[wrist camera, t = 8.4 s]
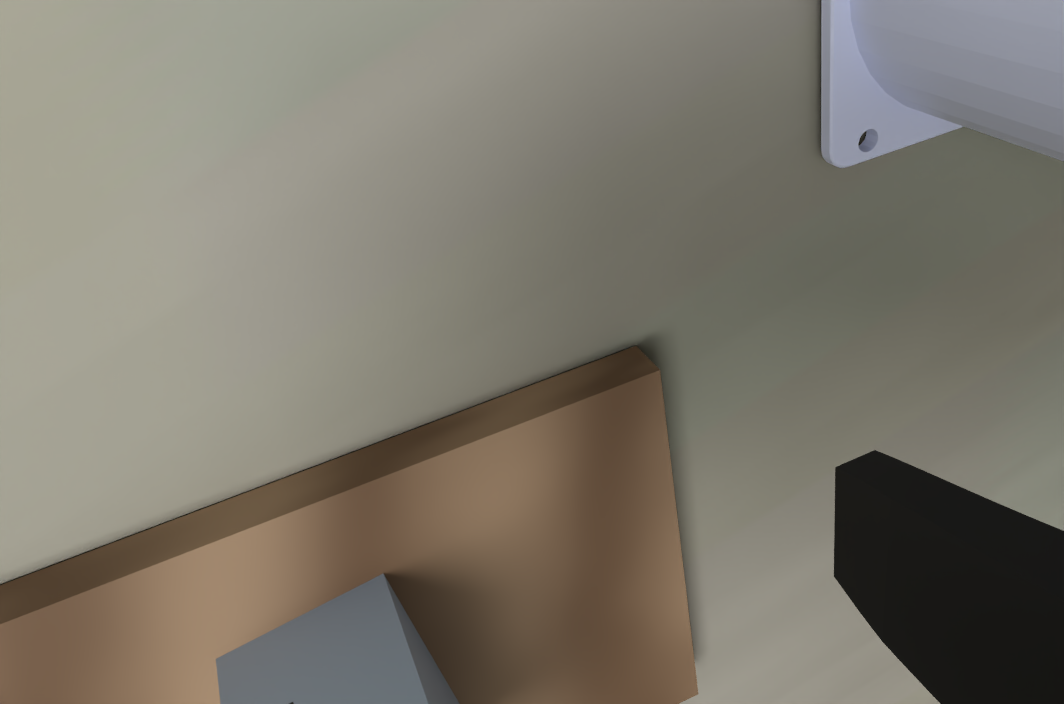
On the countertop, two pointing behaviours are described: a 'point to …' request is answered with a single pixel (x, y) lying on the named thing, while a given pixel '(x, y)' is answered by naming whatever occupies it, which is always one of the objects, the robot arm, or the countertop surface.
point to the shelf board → (404, 561)
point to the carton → (338, 657)
